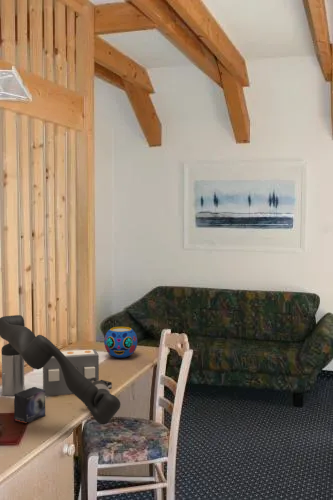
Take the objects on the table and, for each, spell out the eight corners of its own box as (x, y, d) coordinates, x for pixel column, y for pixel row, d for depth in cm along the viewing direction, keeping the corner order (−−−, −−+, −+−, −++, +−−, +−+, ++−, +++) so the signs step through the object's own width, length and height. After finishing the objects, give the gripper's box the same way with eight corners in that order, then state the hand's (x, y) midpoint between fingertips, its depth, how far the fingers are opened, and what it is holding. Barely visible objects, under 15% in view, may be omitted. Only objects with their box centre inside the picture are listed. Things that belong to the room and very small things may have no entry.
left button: (48, 381, 237) (48, 371, 236) (48, 379, 240) (48, 369, 239) (59, 380, 238) (59, 370, 237) (58, 378, 241) (58, 368, 240)
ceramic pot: (101, 361, 292) (101, 332, 291) (106, 352, 310) (106, 325, 309) (135, 361, 292) (135, 332, 290) (138, 352, 309) (138, 325, 308)
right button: (84, 378, 241) (84, 368, 240) (84, 376, 244) (83, 366, 243) (95, 377, 242) (95, 367, 241) (94, 375, 245) (94, 365, 244)
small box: (26, 425, 208) (25, 397, 207) (13, 421, 211) (12, 393, 210) (46, 416, 217) (46, 389, 216) (34, 412, 220) (33, 386, 219)
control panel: (44, 396, 239) (43, 357, 237) (43, 388, 248) (42, 351, 247) (98, 391, 245) (98, 353, 243) (95, 384, 254) (95, 348, 253)
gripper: (82, 404, 214) (77, 390, 231) (116, 401, 218) (109, 387, 234) (81, 385, 214) (76, 372, 230) (116, 382, 217) (109, 369, 234)
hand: (93, 379), depth 232 cm, fingers closed
